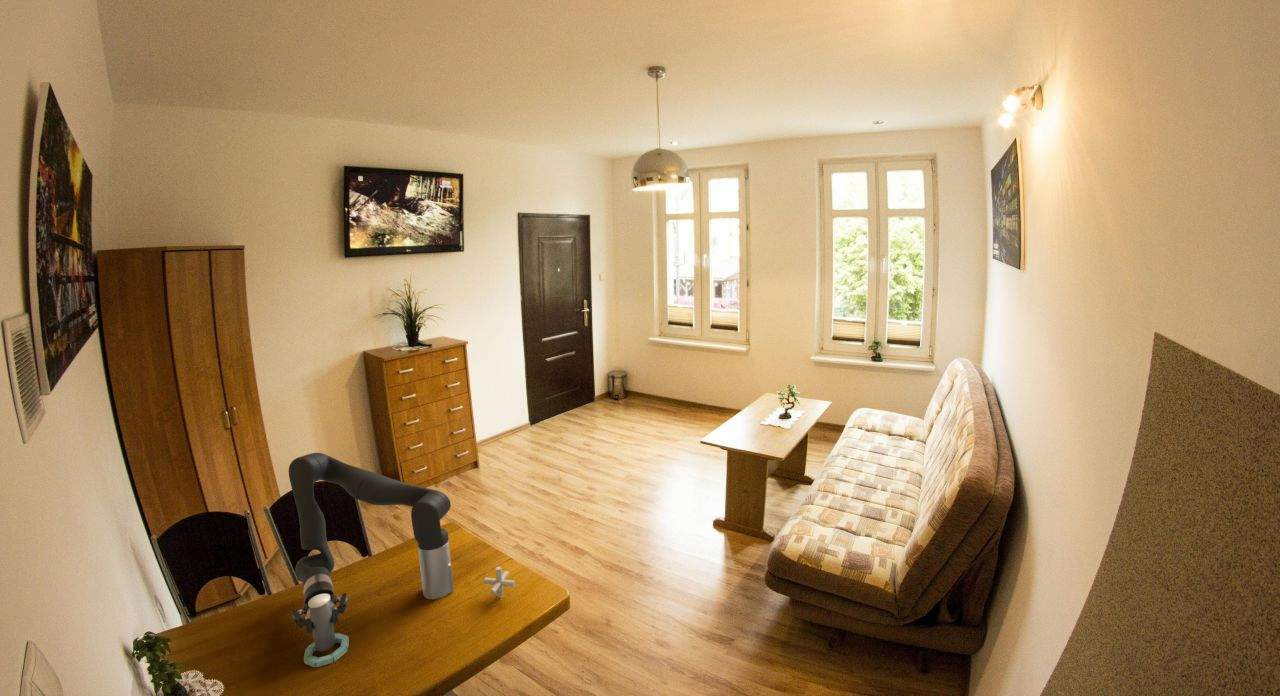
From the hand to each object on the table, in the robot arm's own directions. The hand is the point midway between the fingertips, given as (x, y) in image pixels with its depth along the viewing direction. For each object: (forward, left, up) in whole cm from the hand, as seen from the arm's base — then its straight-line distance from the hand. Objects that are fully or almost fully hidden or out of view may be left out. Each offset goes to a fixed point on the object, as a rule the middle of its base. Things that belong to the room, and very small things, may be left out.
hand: (322, 625), depth 142 cm
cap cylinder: (+1, -3, -8) cm, 8 cm away
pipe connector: (-48, -5, -10) cm, 49 cm away
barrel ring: (0, -2, -10) cm, 10 cm away
